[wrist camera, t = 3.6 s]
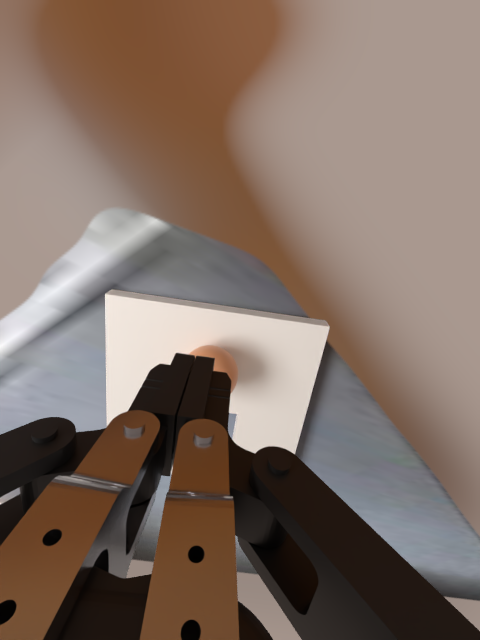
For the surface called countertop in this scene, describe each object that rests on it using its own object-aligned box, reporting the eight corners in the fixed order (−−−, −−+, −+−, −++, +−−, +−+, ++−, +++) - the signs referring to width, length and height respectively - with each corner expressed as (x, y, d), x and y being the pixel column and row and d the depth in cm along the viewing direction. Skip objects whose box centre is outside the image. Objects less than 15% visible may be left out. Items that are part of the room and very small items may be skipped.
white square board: (326, 320, 29) (330, 326, 28) (283, 477, 37) (285, 488, 35) (111, 289, 29) (105, 293, 27) (112, 455, 36) (107, 465, 35)
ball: (242, 340, 29) (241, 367, 24) (235, 386, 31) (232, 420, 26) (188, 332, 29) (176, 358, 24) (183, 378, 30) (172, 412, 26)
